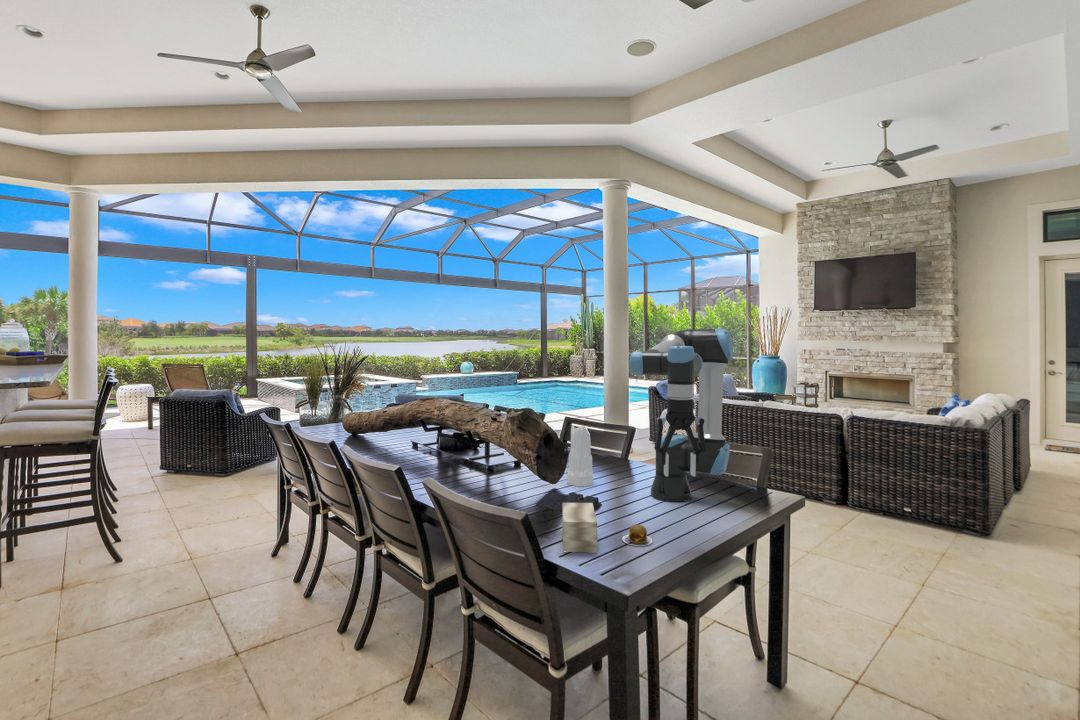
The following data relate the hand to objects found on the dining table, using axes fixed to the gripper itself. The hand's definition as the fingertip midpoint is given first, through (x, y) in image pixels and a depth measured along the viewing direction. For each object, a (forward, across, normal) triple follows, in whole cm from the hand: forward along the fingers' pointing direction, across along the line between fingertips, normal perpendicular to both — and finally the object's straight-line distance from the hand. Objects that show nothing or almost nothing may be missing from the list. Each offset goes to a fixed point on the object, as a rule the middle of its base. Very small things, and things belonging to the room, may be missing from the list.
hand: (679, 475), depth 150 cm
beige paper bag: (+20, +30, 0) cm, 36 cm away
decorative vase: (+20, +26, -62) cm, 70 cm away
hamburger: (+21, +12, 0) cm, 24 cm away
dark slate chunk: (+21, +32, -32) cm, 50 cm away
